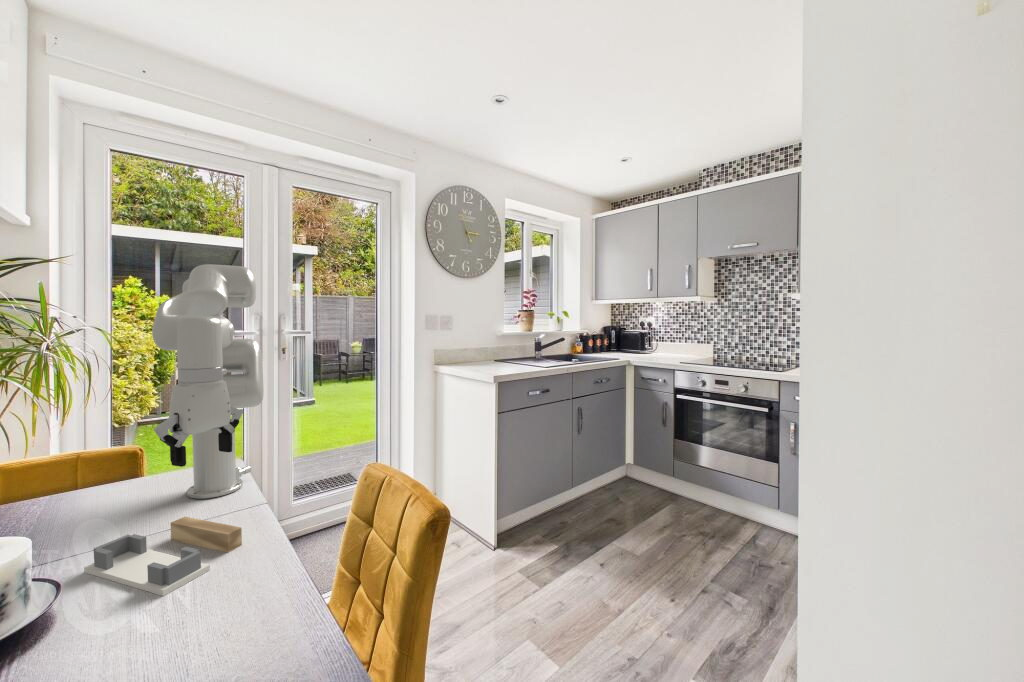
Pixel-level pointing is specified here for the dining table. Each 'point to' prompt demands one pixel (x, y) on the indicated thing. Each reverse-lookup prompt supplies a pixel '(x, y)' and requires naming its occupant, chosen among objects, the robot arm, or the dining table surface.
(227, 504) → the dining table surface
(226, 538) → the slat
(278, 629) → the dining table surface
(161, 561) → the mounting board
